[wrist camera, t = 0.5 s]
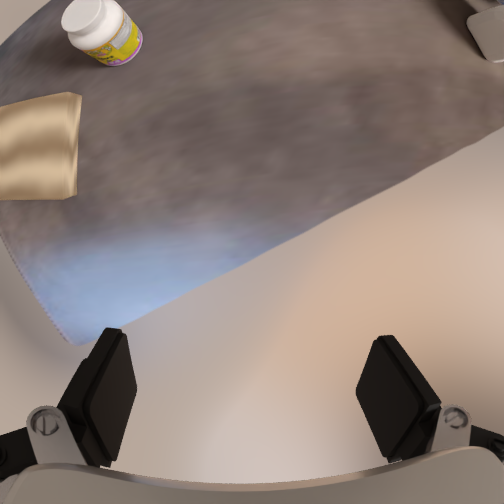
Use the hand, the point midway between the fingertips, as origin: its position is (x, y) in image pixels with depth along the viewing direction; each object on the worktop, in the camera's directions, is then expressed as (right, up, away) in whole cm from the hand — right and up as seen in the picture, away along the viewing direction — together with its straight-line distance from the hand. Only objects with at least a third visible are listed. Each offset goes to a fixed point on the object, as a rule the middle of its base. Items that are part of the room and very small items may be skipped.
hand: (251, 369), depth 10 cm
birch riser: (-31, +19, +23) cm, 43 cm away
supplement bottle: (-17, +32, +19) cm, 41 cm away
